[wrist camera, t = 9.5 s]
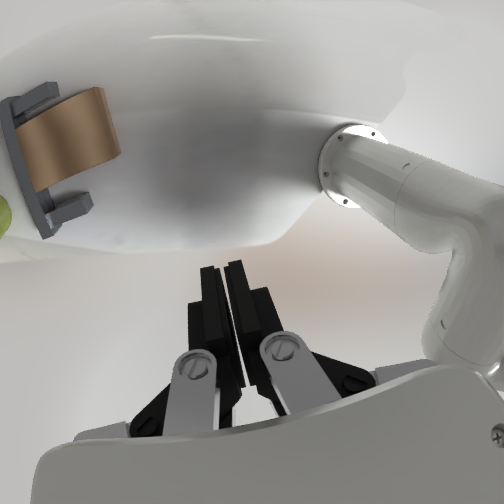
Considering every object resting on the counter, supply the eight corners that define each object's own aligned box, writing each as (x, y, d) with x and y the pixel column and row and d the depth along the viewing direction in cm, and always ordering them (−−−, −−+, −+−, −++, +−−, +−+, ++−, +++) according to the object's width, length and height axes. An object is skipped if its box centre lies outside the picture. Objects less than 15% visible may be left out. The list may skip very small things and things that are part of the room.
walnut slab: (103, 88, 28) (94, 86, 24) (121, 152, 32) (114, 158, 29) (29, 125, 27) (14, 129, 23) (48, 183, 31) (35, 193, 28)
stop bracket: (55, 75, 24) (43, 74, 21) (96, 211, 35) (88, 222, 32) (10, 102, 24) (-3, 104, 21) (52, 228, 34) (43, 239, 31)
